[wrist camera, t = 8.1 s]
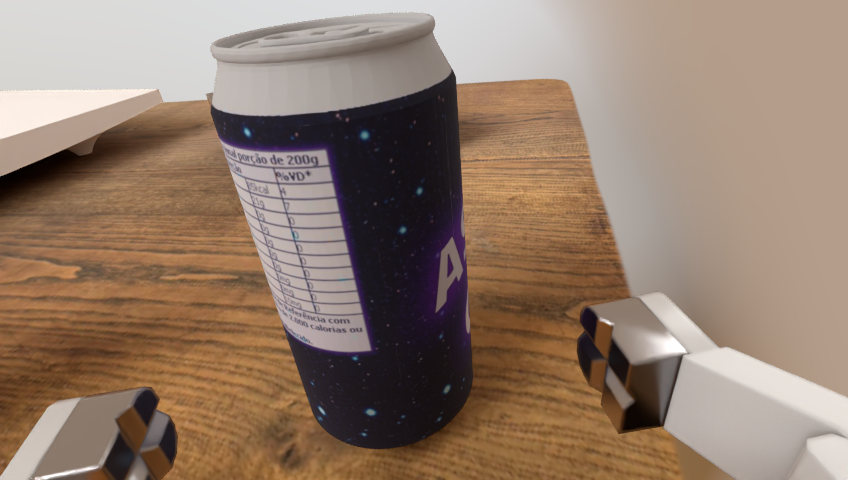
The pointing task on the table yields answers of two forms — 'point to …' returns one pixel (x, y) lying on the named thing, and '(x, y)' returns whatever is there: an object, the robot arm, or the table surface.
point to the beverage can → (356, 213)
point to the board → (62, 121)
